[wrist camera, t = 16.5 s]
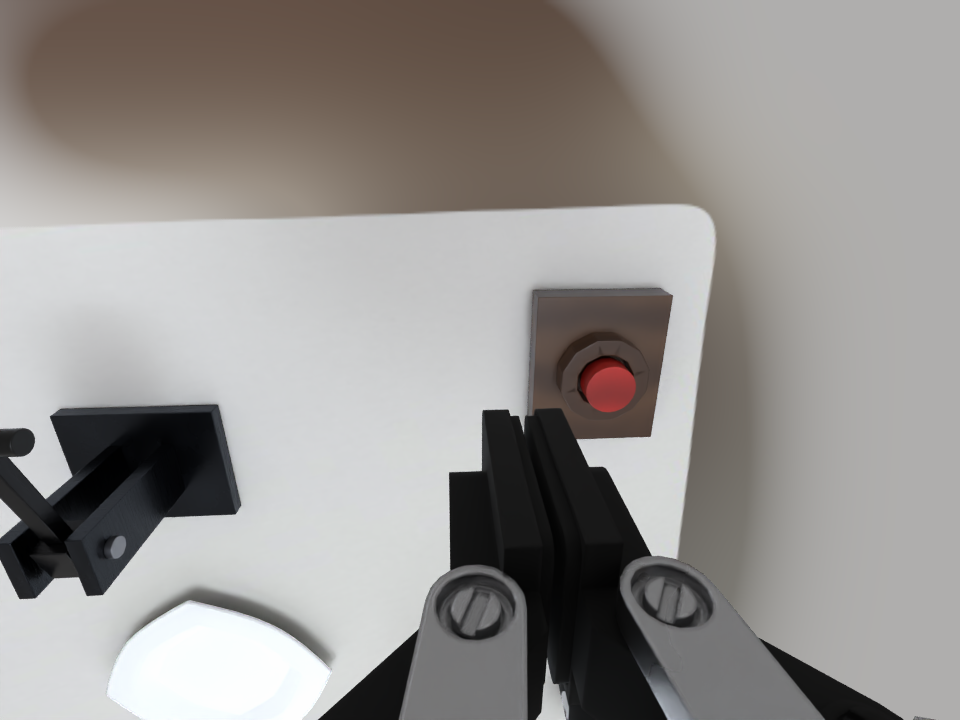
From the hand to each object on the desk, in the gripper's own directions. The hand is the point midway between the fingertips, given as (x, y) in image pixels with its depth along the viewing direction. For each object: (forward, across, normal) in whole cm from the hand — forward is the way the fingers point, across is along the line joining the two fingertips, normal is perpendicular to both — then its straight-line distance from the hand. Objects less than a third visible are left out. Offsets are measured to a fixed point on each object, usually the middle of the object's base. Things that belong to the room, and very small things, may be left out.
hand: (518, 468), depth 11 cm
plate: (+27, +25, +42) cm, 56 cm away
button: (+23, -10, +9) cm, 27 cm away
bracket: (+27, +26, +17) cm, 41 cm away
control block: (+27, -10, +9) cm, 30 cm away
